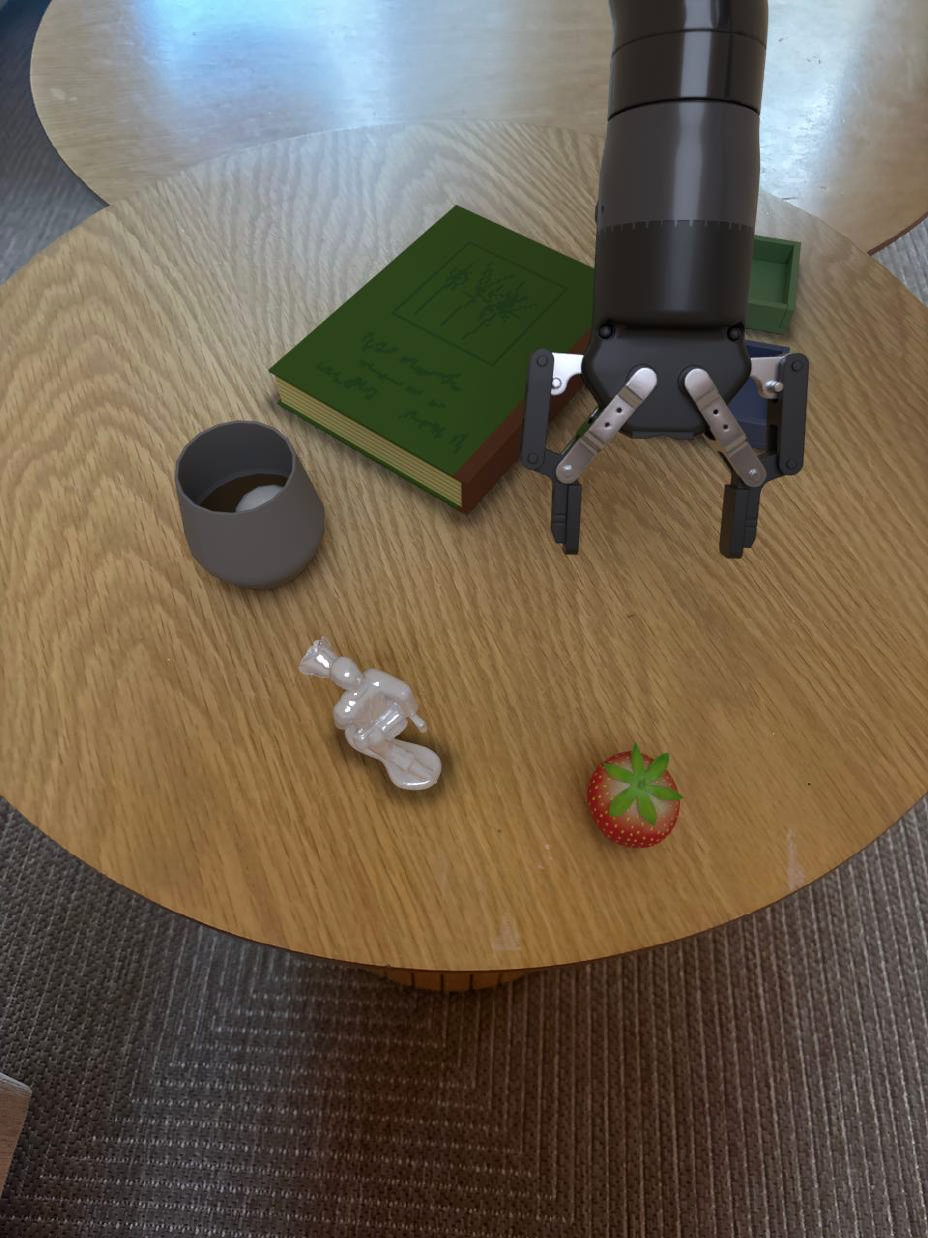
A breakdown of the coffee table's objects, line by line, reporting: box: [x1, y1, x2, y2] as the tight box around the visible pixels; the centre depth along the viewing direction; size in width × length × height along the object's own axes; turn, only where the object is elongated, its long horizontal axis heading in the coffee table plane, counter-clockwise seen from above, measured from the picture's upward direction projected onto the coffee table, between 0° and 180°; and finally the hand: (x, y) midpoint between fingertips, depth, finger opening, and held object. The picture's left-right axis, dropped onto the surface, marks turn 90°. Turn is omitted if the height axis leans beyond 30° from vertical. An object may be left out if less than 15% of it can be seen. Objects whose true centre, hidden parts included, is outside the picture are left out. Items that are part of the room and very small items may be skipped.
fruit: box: [586, 741, 685, 849], centre depth 51 cm, size 5×5×8 cm
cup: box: [173, 419, 326, 591], centre depth 59 cm, size 10×9×10 cm
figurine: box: [297, 635, 443, 791], centre depth 51 cm, size 5×9×12 cm, turn 63°
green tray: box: [745, 234, 802, 335], centre depth 76 cm, size 9×9×3 cm
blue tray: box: [697, 339, 791, 451], centre depth 70 cm, size 9×9×3 cm
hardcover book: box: [268, 204, 594, 516], centre depth 71 cm, size 25×19×4 cm
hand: (650, 554), depth 47 cm, fingers open, 8 cm apart
